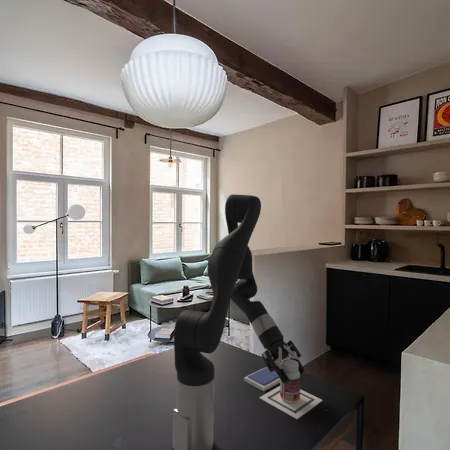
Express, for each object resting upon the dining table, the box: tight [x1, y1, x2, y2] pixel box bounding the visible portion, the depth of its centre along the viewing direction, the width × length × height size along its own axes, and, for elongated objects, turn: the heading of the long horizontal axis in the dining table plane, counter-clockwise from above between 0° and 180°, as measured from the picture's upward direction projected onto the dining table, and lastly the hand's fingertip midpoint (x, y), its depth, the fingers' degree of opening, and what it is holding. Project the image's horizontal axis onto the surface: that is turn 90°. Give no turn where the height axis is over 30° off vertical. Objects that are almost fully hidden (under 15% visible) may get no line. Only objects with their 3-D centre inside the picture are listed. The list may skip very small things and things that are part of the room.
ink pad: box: [243, 366, 280, 392], centre depth 109 cm, size 12×9×2 cm
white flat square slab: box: [258, 385, 323, 420], centre depth 98 cm, size 14×14×1 cm
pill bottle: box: [279, 359, 301, 403], centre depth 98 cm, size 6×6×11 cm
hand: (295, 377), depth 97 cm, fingers open, 8 cm apart
